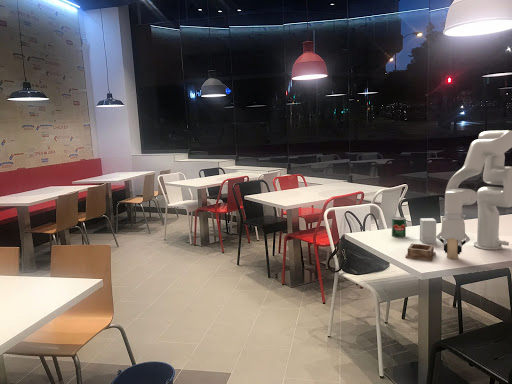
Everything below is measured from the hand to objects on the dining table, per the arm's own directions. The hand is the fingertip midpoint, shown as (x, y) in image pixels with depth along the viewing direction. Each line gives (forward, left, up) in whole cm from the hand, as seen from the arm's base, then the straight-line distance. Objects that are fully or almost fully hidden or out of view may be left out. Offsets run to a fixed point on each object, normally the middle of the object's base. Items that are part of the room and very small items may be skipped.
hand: (452, 252), depth 191 cm
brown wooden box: (+14, +3, -2) cm, 15 cm away
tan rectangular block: (0, 0, -3) cm, 3 cm away
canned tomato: (+32, -32, -3) cm, 45 cm away
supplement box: (+15, -26, -3) cm, 30 cm away
